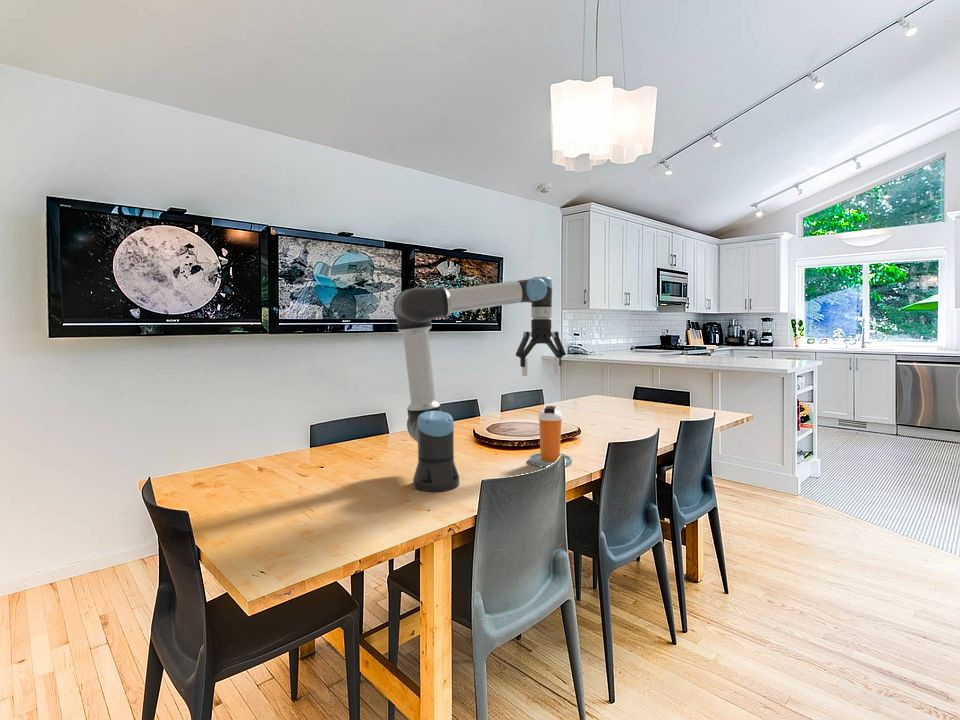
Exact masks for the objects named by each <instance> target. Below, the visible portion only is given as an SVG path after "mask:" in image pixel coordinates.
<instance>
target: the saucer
mask: <svg viewBox="0 0 960 720" xmlns="http://www.w3.org/2000/svg"><path fill="white" fill-rule="evenodd" d="M561 454H562V453H561V452H560V455H561ZM564 454H565V459H566V467H569V466H571V465H572V462H573V458H572V456H570V455H568V454H566V453H564ZM528 462H529V464H530V463H531V464H530V465H532V464H533V465H532V466H534V465H537V466H536V467H538V466H542V467H541V468H544V467H546V466H548V465H551V464H552V463H554V462H547V461H543V460H541V452H538V453H537V452H535V453H533V454H530V455H529V456H528ZM566 467H565V468H566Z"/></svg>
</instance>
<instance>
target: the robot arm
mask: <svg viewBox="0 0 960 720" xmlns="http://www.w3.org/2000/svg"><path fill="white" fill-rule="evenodd" d="M552 296H553V281H552V278H551V277H548V276H533V277H532V278H527V279H521V280H511V281H504V282H498V283H489V284H481V285H474V286H467V287H466V286H464V287H458V288H451V289H447V288H445V287H443V286H442V287H415V288H414V287H412V288H410V289H405V290H403V291H401V292H400V293H399V294H398V295H396V297H395V298H394V302H393V304H392V306H393V307H392V310H393V314H394V316H395V318H396V323H397V325H396V326H397V331H398V332H399V333H401V334H402V337H403V344H404V354H405V361H406V362H405V363H406V372H407V373H406V374H407V379H408V390H409V398H410V403H409V405H408V406H407V408H406V411H407V416H408V417H407V421H406V429H407V432H408V434H409V436H410V437H411V439H412V440H414V441H415V442H417V460H418V461H417V465H416V469H415V472H414V474H413V478H412V484H413V485H412V486H413V487H414V488H415V489H417V490H419V491H423V492H445V491H450V490H453V489H456V488H458V486H459V485H460V474H459V472H458V470H457V467H456V463H455V457H454V450H455V449H454V446H455V445H454V444H455V442H454V440H455V439H454V435H455V433H454V428H455V424H454V418H453V416H452V415H451V414H450V413H449V412H445V411H442V409H441V408H442V407H441V403H440V402H439V401H437V399H436V394H435V393H436V392H435V385H434V376H433V374H434V373H433V366H432V358H431V349H430V348H431V347H430V338H429V332H430V330H431V329H432V327H433V326H432V320H436V319H440V318H447V317H448V316H449V315H450V314H451V313H452V314H453V313H459V312H466V311H473V310H479V309H486V308H492V307H493V308H494V307H498V306H499V307H500V306H505V305H513V304H520V303H528V304H529V303H531V310H530V311H531V314H530V315H531V318H532V319H531V321H530V322H531V323H530V326H531V327H530V328H531V332H529V331H523V335H522V336H523V337H522V340H521V342H520V344H519V346H518V348H517V350H516V351H515V356H516V357H517V358H519V359H520V360H519V361H520V363H519V364H520V367H521V370H522V371H521V376H524V377H528V358H527V356H528V355H529V354H530V353H531V351H532V350H533V348H534V347H535V346H536V345H537V344H538V345H539V344H544V345H547V346H548V348H549V349H550V351H552V353H553V354H554V356H555V357H553V375H556V376H559V375H560V366H561V364H562V358H563V357H564V356H565V357H566V355H567V353H566V352H565V349H564V346H563V344H562V342H561V339H560V336H559V331H552V319H551V318H552V314H553V313H552V309H553V308H552V306H553V305H552V303H553V301H552V300H553V297H552ZM530 337H531V340H530ZM551 337H552V339H553V340H552V339H551ZM529 340H530V341H529ZM528 342H529V343H528ZM553 342H554V343H553ZM526 345H527V346H526Z"/></svg>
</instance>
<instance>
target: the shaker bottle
mask: <svg viewBox="0 0 960 720" xmlns="http://www.w3.org/2000/svg"><path fill="white" fill-rule="evenodd" d="M562 420H563V414H562V412H561V411H560V410H558V409H556V406H555V405H547V406H545V408H544V409H543V410H540V412H539V413H538V423H539V447H540V448H539V449H540V453H541V460H543V461H547V462H555V461H556V460H557V459H558V457H559V456H560V453H561V441H562V440H561V437H562V422H563V421H562Z"/></svg>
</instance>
